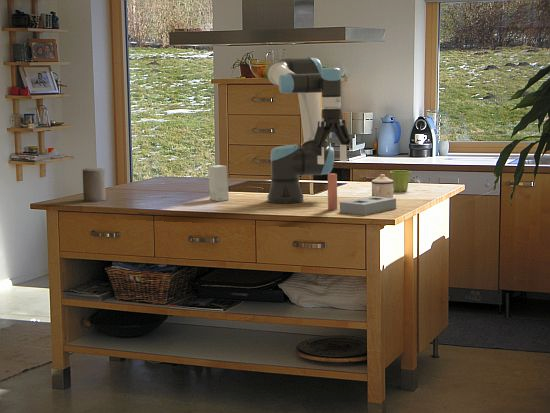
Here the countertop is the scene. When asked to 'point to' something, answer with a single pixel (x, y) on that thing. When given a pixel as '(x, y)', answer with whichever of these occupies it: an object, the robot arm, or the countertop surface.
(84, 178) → the pillar candle
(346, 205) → the bore block
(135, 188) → the countertop surface
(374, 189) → the teacup with lid
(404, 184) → the plant pot
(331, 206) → the dowel
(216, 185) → the skincare box
